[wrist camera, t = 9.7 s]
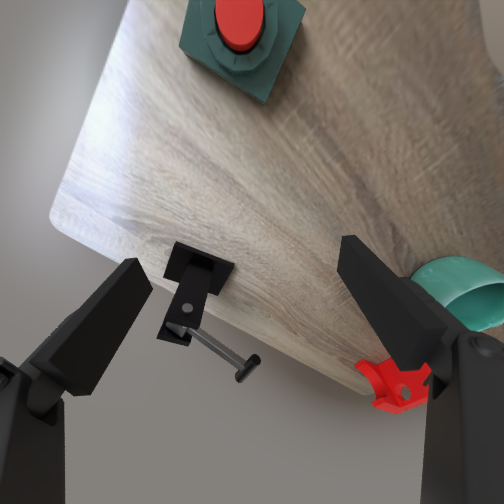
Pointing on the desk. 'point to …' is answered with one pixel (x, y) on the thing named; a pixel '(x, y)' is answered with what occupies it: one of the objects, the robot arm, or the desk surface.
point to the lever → (220, 351)
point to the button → (239, 22)
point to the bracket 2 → (395, 385)
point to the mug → (465, 290)
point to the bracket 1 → (191, 288)
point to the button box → (247, 62)
